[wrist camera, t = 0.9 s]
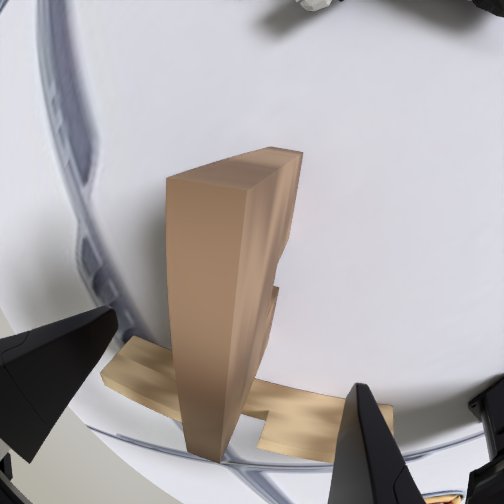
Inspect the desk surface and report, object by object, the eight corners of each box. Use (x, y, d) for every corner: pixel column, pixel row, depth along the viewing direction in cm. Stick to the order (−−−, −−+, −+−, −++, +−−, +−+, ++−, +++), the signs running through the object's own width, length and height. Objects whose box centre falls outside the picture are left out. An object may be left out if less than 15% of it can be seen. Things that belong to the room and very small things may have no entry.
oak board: (392, 405, 18) (393, 459, 13) (383, 416, 18) (383, 467, 14) (133, 335, 22) (99, 372, 18) (136, 347, 23) (104, 385, 18)
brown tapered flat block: (270, 146, 13) (166, 177, 5) (303, 152, 13) (247, 190, 5) (244, 337, 18) (187, 451, 10) (267, 343, 18) (219, 463, 10)
